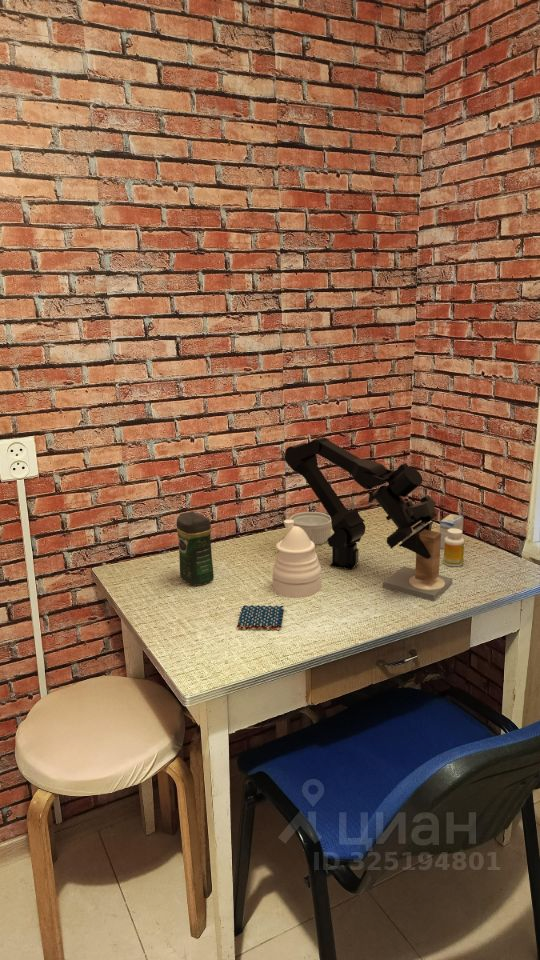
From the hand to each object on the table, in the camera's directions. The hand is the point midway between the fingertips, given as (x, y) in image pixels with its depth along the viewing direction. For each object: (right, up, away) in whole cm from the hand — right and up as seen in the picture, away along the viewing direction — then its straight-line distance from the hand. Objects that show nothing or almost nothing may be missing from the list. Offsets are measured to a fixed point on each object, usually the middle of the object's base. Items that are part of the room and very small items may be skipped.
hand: (433, 554), depth 163 cm
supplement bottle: (+10, -5, +18) cm, 21 cm away
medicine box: (+13, -1, +31) cm, 33 cm away
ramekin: (-28, 0, +39) cm, 48 cm away
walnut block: (-1, -6, +3) cm, 7 cm away
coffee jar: (-61, -8, +12) cm, 63 cm away
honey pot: (-34, -9, +6) cm, 36 cm away
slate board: (-3, -9, +5) cm, 10 cm away
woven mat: (-43, -15, -10) cm, 47 cm away
